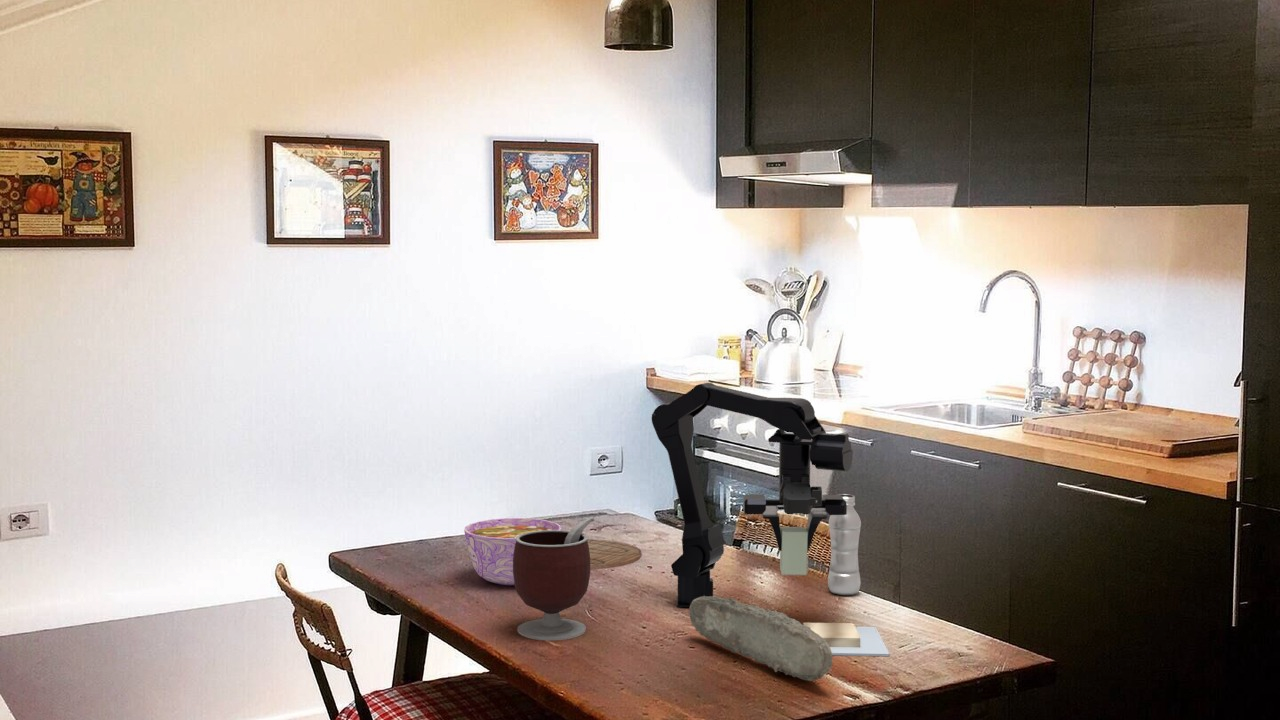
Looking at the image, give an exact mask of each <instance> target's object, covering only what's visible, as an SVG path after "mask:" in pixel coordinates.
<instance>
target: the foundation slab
mask: <svg viewBox="0 0 1280 720" xmlns="http://www.w3.org/2000/svg"><path fill="white" fill-rule="evenodd" d="M802 625H804V626H807V627H810V629H811V630H812V631H814V632H815V633H817V634H818V635H820V636H821V637H822V638H823V639H824V640H825V641H826V642H827V644H828V645H829V647H860V636H859V634H858V632H857V630H856V628H855V627H856V625H855V624H854V623H851V622H849V623H848V622H803V623H802Z"/></svg>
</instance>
